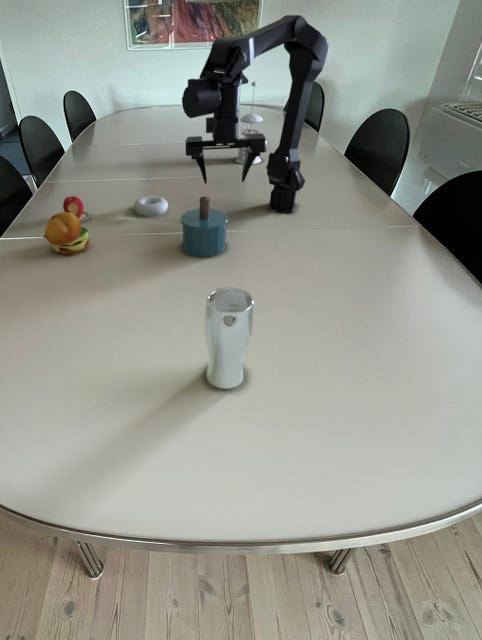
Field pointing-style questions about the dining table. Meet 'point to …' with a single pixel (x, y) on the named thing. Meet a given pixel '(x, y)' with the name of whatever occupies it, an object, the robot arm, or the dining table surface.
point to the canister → (204, 241)
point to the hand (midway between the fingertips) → (224, 182)
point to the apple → (75, 207)
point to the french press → (248, 132)
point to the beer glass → (227, 334)
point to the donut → (150, 206)
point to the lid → (204, 217)
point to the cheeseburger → (66, 233)
